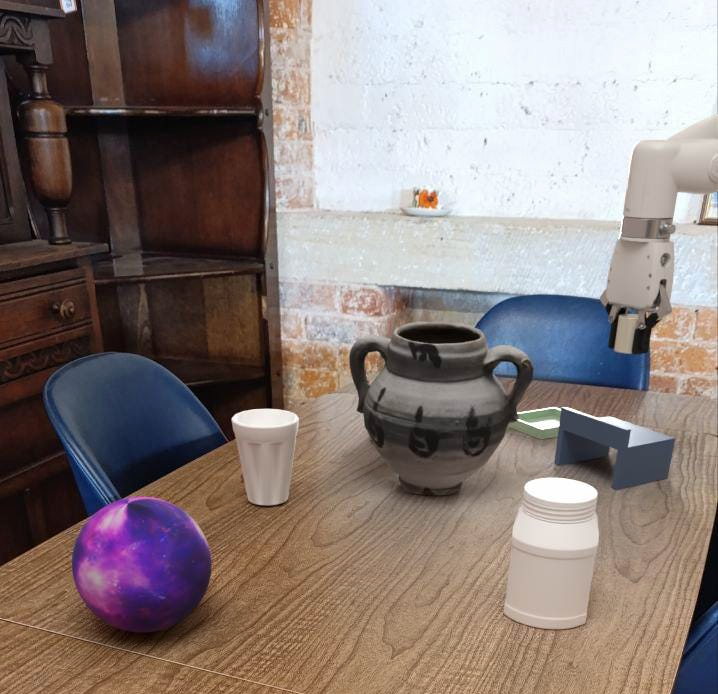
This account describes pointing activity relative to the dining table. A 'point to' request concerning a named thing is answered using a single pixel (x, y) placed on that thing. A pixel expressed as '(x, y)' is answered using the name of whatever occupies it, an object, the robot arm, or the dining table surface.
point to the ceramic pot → (437, 401)
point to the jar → (552, 554)
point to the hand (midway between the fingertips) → (627, 349)
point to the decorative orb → (141, 564)
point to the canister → (626, 333)
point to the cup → (266, 452)
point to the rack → (634, 444)
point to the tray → (538, 423)
